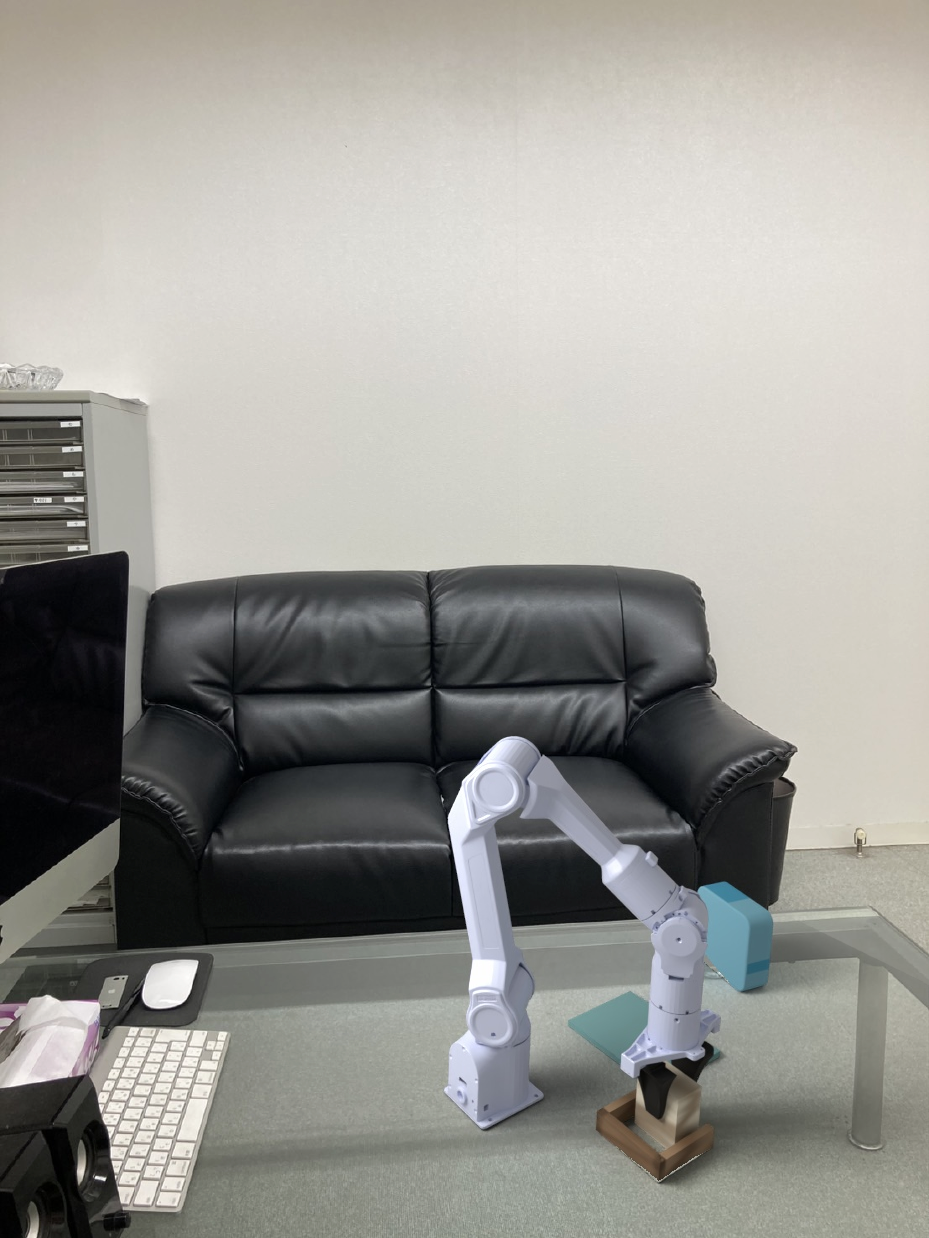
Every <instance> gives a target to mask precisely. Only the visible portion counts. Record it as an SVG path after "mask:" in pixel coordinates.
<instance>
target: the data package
mask: <svg viewBox="0 0 929 1238" xmlns="http://www.w3.org/2000/svg"><path fill="white" fill-rule="evenodd" d="M697 893H699V895H700V897H701V899H702V900H703V901H704V903H705V904H706V906H707V909H708V915H709V921H708V932H707V943H708V946H707V950H706V952H705V955H707V957H708V959H710V961H711V962H712V964H714V966H715V967H716V969H718V971H719V972H720V973H721V974H722V975H723V976H724V977H725V978H726V980H728V982H729V983H728V985H730V986H731V987H732V988H734V989H735V990H736V991H737V992H746V991H749V990H753V989H755V988H759V987H764V986H766V985H767V983H768V980H769V973H770V972H769V971H770V963H771V962H770V961H771V953H772V952H771V951H772V942H773V930H774V919H773V915H772V914H771V912H770V911H769V910H768V909H766V908H765V907H763V906H762V905H761V904H759V903H757V902H756V901H755V900H753V899H752V898H751V897H749V896H748V895H746V894H745V893H743V892H742V891H741V890H739V889H737V888H735V886H733V885H731V884H730V883H729V882H727V881H720V882H715V883H712V884H706V885H703V886H700V887H699V888H698V890H697Z"/></svg>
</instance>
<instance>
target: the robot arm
mask: <svg viewBox="0 0 929 1238" xmlns="http://www.w3.org/2000/svg"><path fill="white" fill-rule="evenodd" d="M459 789H460V790H459V791H458V794H457V795H456V798H455V800H454V802H453V804H452V807H451V809H450V812H449V813H448V817H447V819H448V820H447V824H448V829H449V830H448V831H449V835H450V841H451V847H452V851H453V857H454V863H455V869H456V873H457V874H456V875H457V879H458V885H459V891H460V896H461V902H462V903H461V904H462V907H463V913H464V914H463V915H464V918H465V924H466V925H465V926H466V930H467V934H468V940H469V941H468V942H469V946H470V953H471V958H472V961H471V962H472V963H471V971H470V977H469V983H468V993H469V1005H468V1008H467V1010H466V1016H465V1017H466V1018H465V1019H466V1021H465V1022H466V1025H467V1028H468V1030H467V1031H465V1033H464V1035H462V1036H461V1037H460V1038H459V1039H458V1040H456V1041H455V1042H453V1043H452V1044H451V1046H450V1048H449V1051H448V1052H449V1053H448V1076H447V1077H448V1081H447V1083H448V1085H447V1086H445V1087H444V1094H446V1096H448V1098H450V1099H451V1101H453V1102H454V1103H455V1105H456V1106H458V1107H459V1108H460V1109H461V1111H463V1113H465V1114H466V1116H467V1117H468V1118H470V1119H471V1120H472V1121H473V1122H474V1123H475V1125H477V1127H479V1128H480V1129H482V1130H486V1129H488V1128H490V1127H492V1126H493V1125H496V1124H497V1123H500V1122H501V1121H503V1120H505V1119H507V1118H509V1117H511V1116H512V1115H514V1114H517V1113H518V1112H520V1111H522V1110H525V1109H526V1108H527V1107H530V1106H531V1105H534V1104H536V1103H537V1102H539V1101H541V1100H543V1099H544V1093H543V1092H542V1091H541V1090H540V1089H539V1088H537V1087H536V1086H535V1085H534V1084H533V1083H532V1082H531V1081H530V1059H531V1057H530V1056H531V1037H532V1036H531V1034H532V1031H531V1030H532V1023H531V1021H530V1018H529V1015H528V1011H527V1008H528V1005H529V1002H530V1001H531V1000H532V998H533V995H534V994H535V991H536V980H535V976H534V974H533V973H532V970H531V969H530V968H529V967H528V965H527V963H526V961H525V959H524V953H523V950H522V949H521V947H518V946H517V945H516V943H515V938H514V932H513V926H512V921H511V914H510V909H509V904H508V903H509V902H508V898H507V897H508V896H507V892H506V886H505V881H504V874H503V870H502V863H501V857H500V852H499V851H500V850H499V845H498V839H497V834H496V833H497V832H496V827H495V824H496V823H497V822H498V820H500V819H502V818H504V817H507V816H509V815H511V814H513V813H514V812H516V811H517V810H518V809H520V808H522V809H523V810H522V812H521V814H520V815H519V818H520V819H524V820H525V819H527V820H528V819H529V820H531V819H537V820H538V819H539V820H540V819H547V820H549V821H551V823H553V824H554V825H555V826H556V827H557V828H559V829H560V830H561V831H562V832H563V833H564V834H565V835H566V836H567V837H568V838H570V840H571V841H573V842H574V843H575V844H576V845H577V846H578V847H579V848H581V849H582V850H583V851H584V852H585V853H586V854H587V855H588V856H590V857H591V859H593V860H594V861H595V862H596V863H597V864H598V865H599V866H600V868H601V879H602V884H603V885H604V886H606V888H607V889H608V890H609V891H610V892H611V893H612V894H613V895H614V896H615V897H616V898H617V899H618V900H619V901H620V902H621V903H622V904H623V905H624V906H625V907H626V908H627V909H628V910H629V911H630V912H631V913H632V914H633V915H634V916H635V917H636V918H637V919H638V920H639V921H640V922H641V923H642V924H643V925H644V926H645V927H647V929H649V930H650V931H652V933H650V940H651V943H652V947H653V949H654V954H653V957H652V960H651V971H650V983H649V984H650V986H649V997H648V998H649V999H648V1001H649V1002H648V1003H649V1012H648V1025H647V1026H646V1028H645V1029H644V1030H643V1032H642V1033H641V1034H640V1035H639V1037H638V1038H637V1039H636V1041H635V1042H634V1043H633V1045H632V1046H631V1047H630V1048H629V1049H628V1050H627V1051H625V1052H624V1053H622V1054H621V1065H620V1070H622V1071H623V1072H624V1073H626V1075H628V1076H629V1077H631V1078H632V1079H637V1078H638V1081H639V1083H640V1087H641V1090H642V1094H643V1099H644V1104H645V1109H646V1111H647V1112H648V1113H650V1114H651V1115H652V1116H654V1117H655V1118H656V1119H657V1120H659V1119H661V1118H662V1117H663V1115H664V1112H665V1108H666V1102H667V1096H668V1092H669V1089H670V1086H671V1084H672V1082H673V1080H674V1079H675V1078H676V1076H677V1075H676V1074H675V1073H673V1072H672V1071H670V1070H669V1069H668V1068H666V1063H665V1062H663V1061H668V1060H671V1065H673V1066H674V1067H676V1068H677V1069H678V1070H680V1071H681V1072H683V1073H684V1074H685V1075H687V1076H688V1077H690V1078H691V1079H692V1080H694V1081H695V1082H697V1083H698V1081H699V1078H700V1076H701V1074H702V1072H703V1071H704V1069H705V1067H706V1066H707V1064H709V1063H708V1061H709V1060H710V1059H711V1058H712V1057H713V1056H714V1047H715V1046H714V1045H713V1046H714V1047H713V1046H712V1044H711V1043H710V1044H709V1042H708V1041H707V1042H706V1039H707V1037H708V1036H709V1035H710V1033H712V1034H717V1033H719V1032H720V1031H721V1030H720V1029H721V1021H722V1016H721V1015H719V1014H717V1013H716V1012H714V1011H713V1010H712V1009H710V1008H709V1007H707V1008H706V1009H703V1010H702V1004H703V1002H702V1001H703V992H704V981H705V980H704V979H705V963H703V962H704V957H705V952H706V950H707V946H708V943H707V932H708V921H709V915H708V909H707V906H706V904H705V903H704V901H703V900H702V899H701V897H700V895H699V893H698V891H695V890H693V889H691V888H687V887H685V886H684V885H681V886H679V885H678V884H677V883H676V882H675V881H674V880H673V879H672V878H671V877H670V875H668V874H667V873H666V871H664V870H663V869H662V868H661V866H660V865H658V862H659V861H658V860H659V857H657V856H656V855H655V854H654V852H653V851H650V850H649V851H648V852H646V851H644V849H642V847H641V846H640V845H637V844H628V843H627V844H624V843H622V842H621V841H620V840H619V839H618V838H617V837H616V836H615V834H613V832H612V831H611V830H610V829H609V828H608V827H607V826H606V825H605V823H604V822H603V821H602V820H601V819H600V818H599V816H597V814H596V813H595V811H593V810H592V809H591V808H590V807H589V805H588V804H587V803H586V802H585V801H584V800H583V799H582V797H580V796H579V794H578V793H577V792H576V791H575V790H574V789H573V788H572V786H571V785H570V784H569V783H568V782H567V781H566V779H565V778H564V777H563V775H562V774H561V772H560V770H559V769H558V768H557V766H556V765H555V763H554V761H552V760H551V758H549V757H547V756H545V754H542V756H541V753H540V751H539V749H538V747H537V746H536V745H535V744H534V743H533V742H531V741H530V740H528V739H527V738H524V737H521V736H516V735H515V736H512V735H511V736H507V737H503V738H502V739H500V740H499V741H497V742H496V743H495V744H494V745H492V747H491V748H489V750H488V751H487V752H486V753H484V754H483V756H482V757H481V759H480V760H479V761H478V762H477V765H475V767H474V768H473V769H472V770H471V771H470V773H468V774H467V776H465V778H463V780H462V781H461V786H460V788H459ZM636 1077H637V1078H636Z"/></svg>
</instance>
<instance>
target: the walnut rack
mask: <svg viewBox="0 0 929 1238" xmlns="http://www.w3.org/2000/svg"><path fill="white" fill-rule="evenodd" d="M636 1093H637V1088H635V1089H633V1090H632V1091H629V1092H627V1094H625V1095H623V1096H621V1097H619V1098H617V1099H616V1100H613V1101H611V1102H610V1103H609V1104H607V1105H605V1106H603V1107H602V1108H600V1109H597V1111H596V1121H595V1131H597V1132H598V1133H599V1134H600V1135H601V1136H602V1137H603V1138H605V1140H607V1141H609V1143H611V1144H612V1143H613V1144H614V1145H616V1146H617V1147H618V1148H619V1149H620V1150H622V1151H623V1152H624V1153H625V1154H626V1155H627V1156H628V1157H630V1158H632V1160H633V1161H635V1162H636V1163H637V1164H639V1165H640V1166H642V1167H643V1168H644V1169H646V1171H648V1172H650V1174H651V1175H652V1176H654V1177H655V1178H657V1180H658V1181H659V1180H661V1179H663V1178H664V1177H665V1176H667V1175H669V1174H670V1173H671V1172H672V1171H674V1170H676V1169H677V1168H678V1167H680V1166H682V1165H683V1164H685V1163H687V1162H688V1161H689V1160H691V1159H692V1158H694V1157H695V1156H698V1155H700V1154H702V1153H704V1152H705V1151H707V1150H708V1151H710V1150H712V1149H713V1148H714V1138H715V1137H714V1135H715V1128H714V1127H713V1126H712V1125H711V1124H710V1123H708V1122H707V1123H705V1124H704V1125H702V1126H701V1127H698V1129H697V1130H696V1131H694V1132H693V1133H691V1134H690V1135H688V1136H686V1137H685V1138H683V1139H682V1140H680V1141H679V1142H677V1143H675V1144H674V1145H672V1146H671V1147H669V1148H668V1149H666V1148H665V1149H664V1150H663V1151H661V1152H660V1153H659V1152H658V1151H657V1150H655V1149H654V1148H653V1147H652V1146H651V1145H650V1144H649V1143H647V1142H646V1141H645V1140H643V1139H642V1138H641V1137H639V1136H638V1135H637V1134H636V1133H635V1132H634V1131H633V1130H631V1129H630V1128H629V1127H627V1126H626V1125H625V1124H624V1123H625V1122H627V1121H629V1120H630V1119H632V1118H635V1108H636ZM613 1144H612V1145H613ZM614 1145H613V1146H614ZM618 1148H617V1149H618ZM619 1149H618V1150H619ZM709 1149H710V1150H709ZM620 1150H619V1151H620ZM708 1151H707V1152H708ZM705 1153H706V1152H705ZM705 1153H704V1154H705ZM625 1154H624V1155H625ZM626 1155H625V1156H626ZM702 1155H703V1154H702ZM627 1156H626V1157H627ZM628 1157H627V1158H628ZM632 1160H631V1161H632ZM633 1161H632V1162H633Z"/></svg>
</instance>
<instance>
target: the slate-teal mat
mask: <svg viewBox="0 0 929 1238" xmlns="http://www.w3.org/2000/svg"><path fill="white" fill-rule="evenodd" d="M648 1012H649V1002H648V1001H646V1000H645V999H643V997H640V996H639V995H637V994H636V993H634V992H633V991H631V990H629V991H627V992H625V993H623V994H621V995H619V996H616V997H615V998H612V999H610V1000H608V1001H606V1002H604V1003H602V1004H600V1005H598V1006H597V1005H596V1007H593V1008H591V1009H588V1010H587V1011H585V1012H583V1013H580V1014H579V1015H576V1016H574V1017H572V1018H570V1019H568V1021H567V1026H568V1027H569V1028H570V1029H572V1030H573V1031H575V1032H576V1033H577V1034H578V1035H580V1036H581V1037H583V1038H584V1039H585V1040H586V1041H588V1043H591V1045H593V1046H594V1047H595V1048H597V1049H598V1050H600V1052H602V1053H603V1054H605V1055H606V1056H608V1057H609V1058H610V1059H612V1060H613V1061H614V1062H616V1063H617V1064H618V1065H619V1066H621V1054H622V1053H624V1052H625V1051H627V1050H628V1049H629V1048H630V1047H631V1046H632V1045H633V1043H634V1042H635V1041H636V1039H637V1038H638V1037H639V1035H640V1034H641V1033H642V1032H643V1030H644V1029H645V1028H646V1026H647V1025H648ZM705 1041H706V1040H705ZM706 1042H708V1041H706ZM708 1043H709V1042H708ZM709 1044H711V1043H709ZM711 1045H712V1044H711ZM712 1046H713V1047H714V1056H713V1057H712V1058H711V1059H710V1060H709V1061H708V1063H707V1064H709V1063H710V1062H713V1061H714V1060H716V1059H718V1058H719V1057H721V1050H720V1049H719V1048H717V1047H715V1046H714V1045H712ZM667 1062H669V1063H670V1064H671V1060H668V1061H667ZM635 1079H637V1077H636V1078H635Z"/></svg>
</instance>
